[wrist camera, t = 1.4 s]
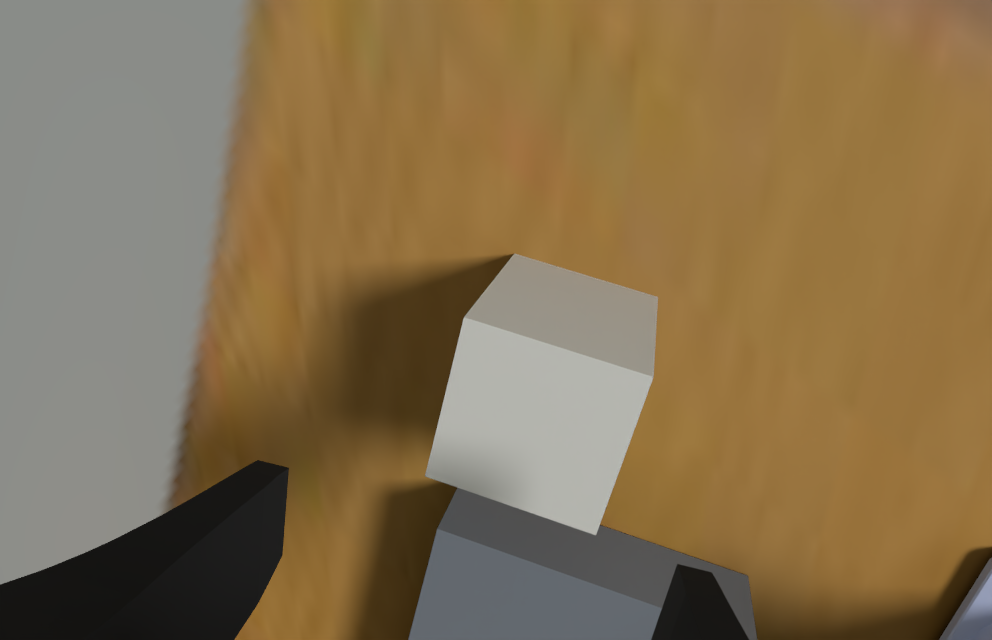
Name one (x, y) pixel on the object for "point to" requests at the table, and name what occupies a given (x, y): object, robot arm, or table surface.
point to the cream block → (546, 391)
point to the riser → (549, 579)
